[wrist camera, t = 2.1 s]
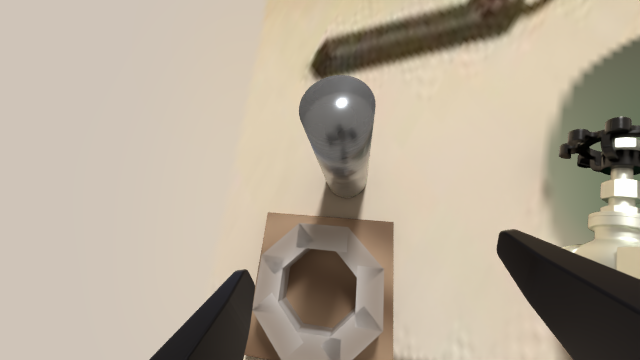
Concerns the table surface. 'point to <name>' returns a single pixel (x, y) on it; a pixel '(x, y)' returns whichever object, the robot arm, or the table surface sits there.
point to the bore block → (323, 290)
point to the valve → (611, 193)
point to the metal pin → (340, 130)
